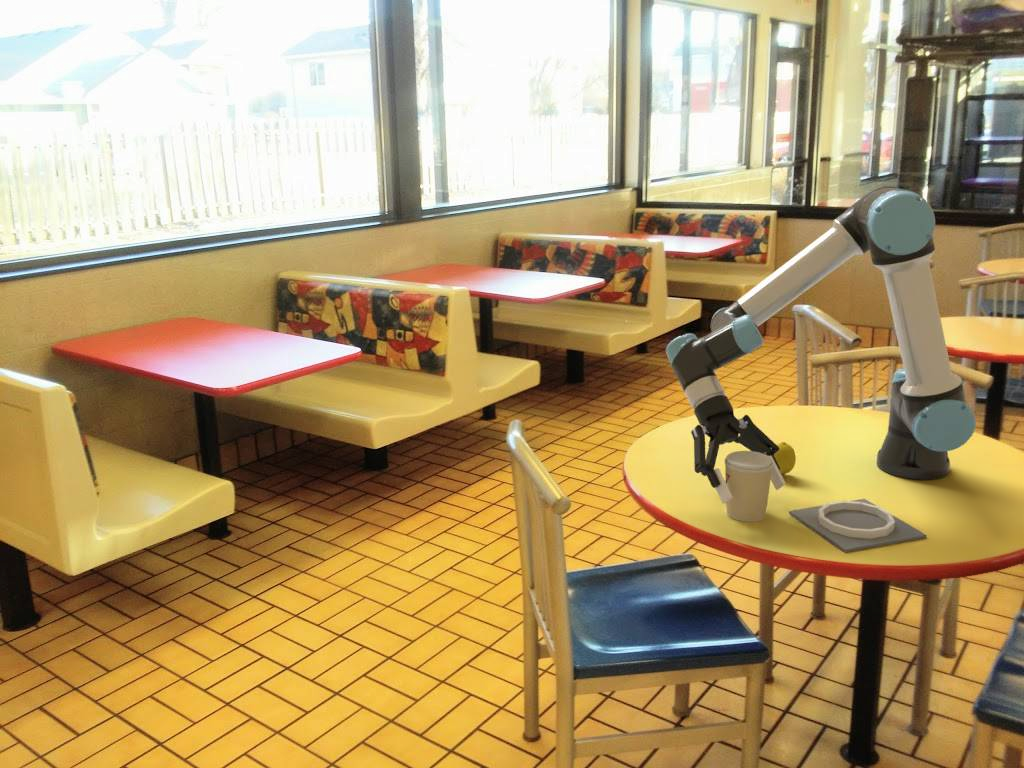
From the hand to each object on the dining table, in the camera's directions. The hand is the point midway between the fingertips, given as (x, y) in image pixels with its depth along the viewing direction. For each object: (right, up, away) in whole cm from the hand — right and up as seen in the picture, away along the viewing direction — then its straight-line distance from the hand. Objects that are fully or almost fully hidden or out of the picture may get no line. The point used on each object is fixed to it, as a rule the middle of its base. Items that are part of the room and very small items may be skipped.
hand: (755, 493), depth 178 cm
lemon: (+12, +1, +22) cm, 25 cm away
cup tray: (+19, -6, -3) cm, 20 cm away
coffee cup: (-1, -5, +4) cm, 6 cm away
